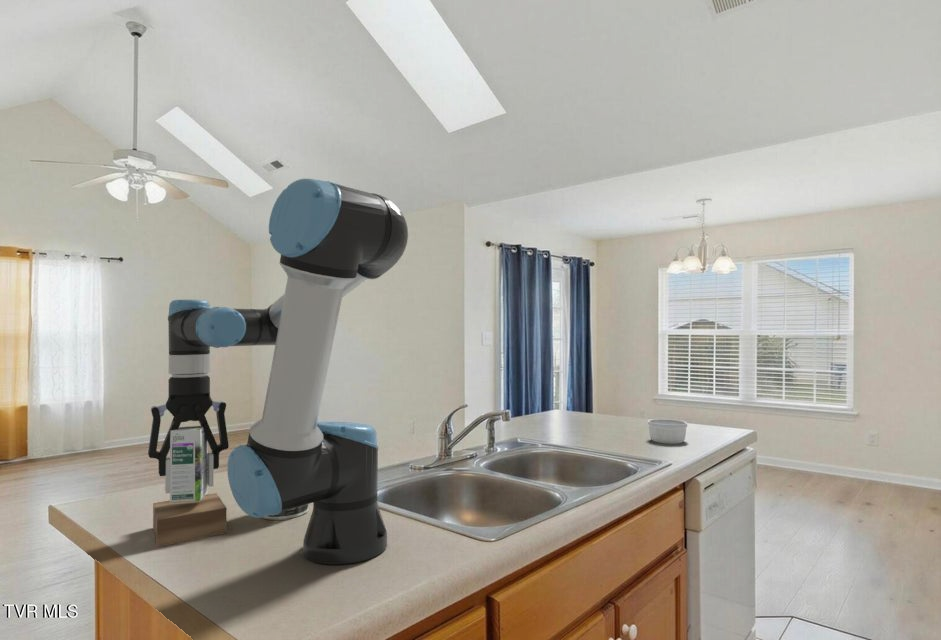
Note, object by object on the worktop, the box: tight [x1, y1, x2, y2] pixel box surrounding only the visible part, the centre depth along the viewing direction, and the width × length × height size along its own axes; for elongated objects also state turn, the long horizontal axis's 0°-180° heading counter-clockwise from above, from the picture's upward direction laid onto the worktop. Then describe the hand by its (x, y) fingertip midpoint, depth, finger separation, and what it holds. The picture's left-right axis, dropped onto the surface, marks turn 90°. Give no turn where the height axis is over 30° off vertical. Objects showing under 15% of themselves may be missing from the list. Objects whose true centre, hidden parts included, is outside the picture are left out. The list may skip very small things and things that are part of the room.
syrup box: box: [169, 425, 208, 503], centre depth 110 cm, size 6×6×14 cm
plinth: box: [152, 492, 227, 547], centre depth 110 cm, size 12×12×5 cm
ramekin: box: [647, 418, 688, 445], centre depth 194 cm, size 13×13×7 cm
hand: (189, 488), depth 110 cm, fingers closed on syrup box, 7 cm apart
